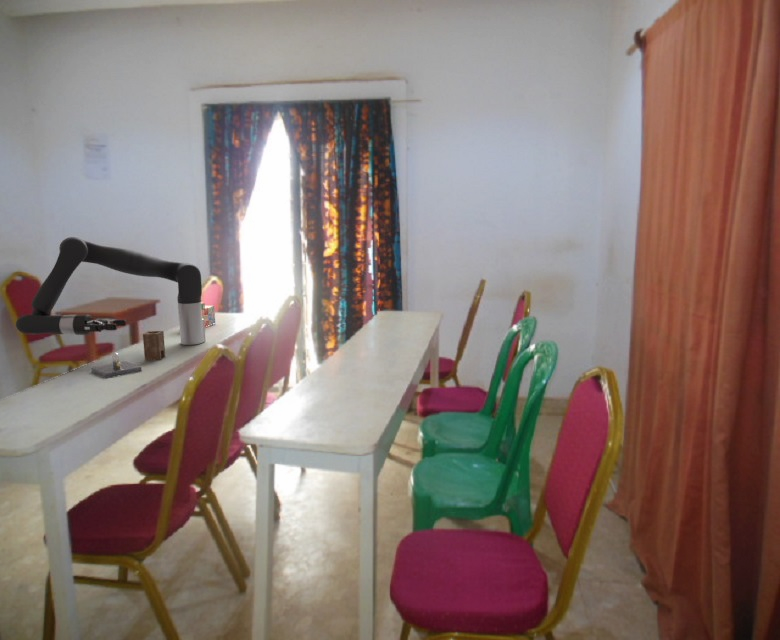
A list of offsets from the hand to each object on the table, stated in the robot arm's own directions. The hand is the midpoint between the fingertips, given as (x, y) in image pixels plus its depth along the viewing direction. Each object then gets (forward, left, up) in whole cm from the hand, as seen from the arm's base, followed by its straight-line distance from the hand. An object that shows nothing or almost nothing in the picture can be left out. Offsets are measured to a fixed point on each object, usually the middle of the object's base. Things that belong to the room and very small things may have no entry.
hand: (121, 324), depth 218 cm
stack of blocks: (-57, -20, -13) cm, 62 cm away
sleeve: (-6, +10, -13) cm, 17 cm away
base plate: (+13, +13, -13) cm, 23 cm away
